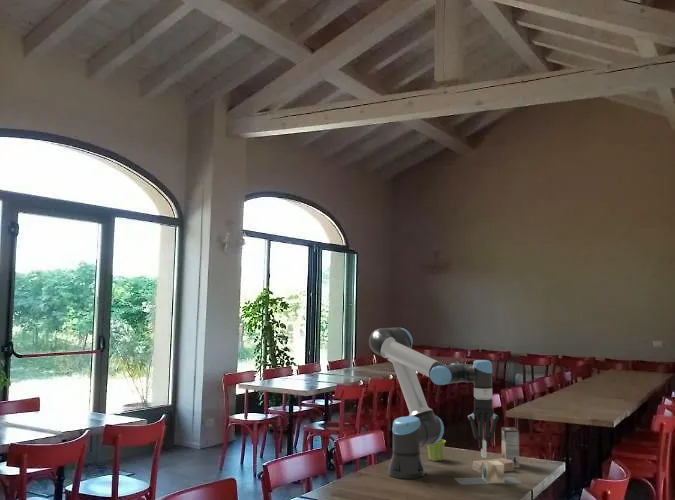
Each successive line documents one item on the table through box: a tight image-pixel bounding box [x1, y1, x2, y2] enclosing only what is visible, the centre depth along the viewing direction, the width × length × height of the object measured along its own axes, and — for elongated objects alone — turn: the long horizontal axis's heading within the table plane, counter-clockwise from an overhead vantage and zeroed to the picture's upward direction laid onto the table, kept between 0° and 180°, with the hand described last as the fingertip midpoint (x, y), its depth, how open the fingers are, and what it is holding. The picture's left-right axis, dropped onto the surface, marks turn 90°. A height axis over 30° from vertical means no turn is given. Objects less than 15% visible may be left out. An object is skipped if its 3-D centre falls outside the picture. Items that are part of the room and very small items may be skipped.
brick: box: [472, 457, 515, 474], centre depth 302 cm, size 17×8×5 cm, turn 109°
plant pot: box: [426, 438, 447, 462], centre depth 323 cm, size 9×9×9 cm
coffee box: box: [500, 426, 520, 468], centre depth 313 cm, size 9×6×16 cm
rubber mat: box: [453, 476, 523, 486], centre depth 284 cm, size 26×10×1 cm, turn 96°
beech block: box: [481, 461, 505, 483], centre depth 285 cm, size 7×7×7 cm
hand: (483, 456), depth 285 cm, fingers closed
